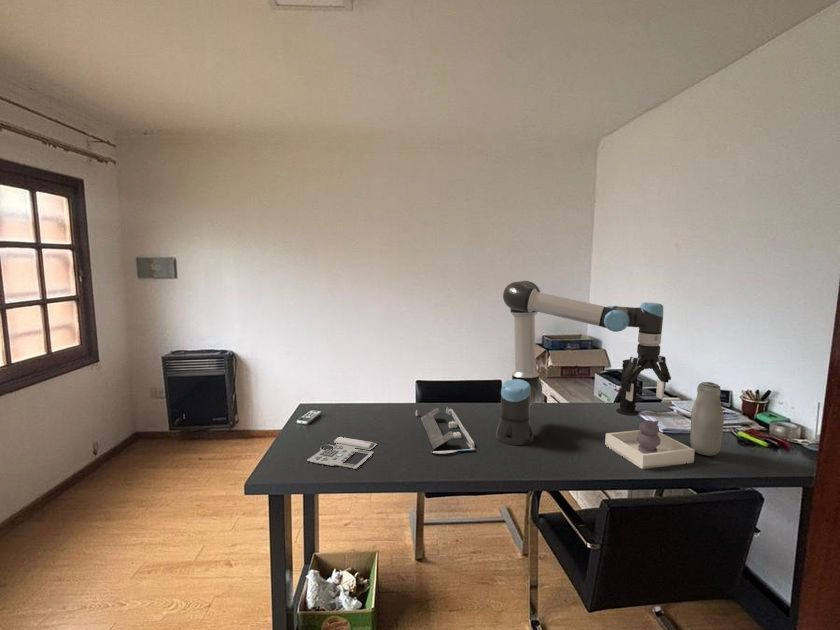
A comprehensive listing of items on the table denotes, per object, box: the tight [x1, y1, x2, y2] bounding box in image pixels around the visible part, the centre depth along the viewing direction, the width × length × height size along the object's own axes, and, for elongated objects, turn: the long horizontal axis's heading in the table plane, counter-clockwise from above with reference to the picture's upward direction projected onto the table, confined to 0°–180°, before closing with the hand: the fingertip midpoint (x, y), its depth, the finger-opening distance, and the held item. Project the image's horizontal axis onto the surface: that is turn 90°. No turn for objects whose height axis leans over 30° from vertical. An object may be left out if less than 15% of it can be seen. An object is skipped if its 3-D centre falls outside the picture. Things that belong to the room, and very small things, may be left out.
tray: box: [604, 429, 696, 470], centre depth 159 cm, size 22×20×5 cm
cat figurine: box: [637, 419, 661, 454], centre depth 159 cm, size 8×8×12 cm
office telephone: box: [306, 436, 378, 470], centre depth 159 cm, size 23×3×20 cm
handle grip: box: [615, 358, 639, 417], centre depth 203 cm, size 10×26×10 cm
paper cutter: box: [415, 406, 476, 454], centre depth 179 cm, size 18×45×6 cm, turn 9°
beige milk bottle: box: [689, 381, 725, 457], centre depth 158 cm, size 10×10×28 cm
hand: (644, 399), depth 159 cm, fingers open, 13 cm apart
